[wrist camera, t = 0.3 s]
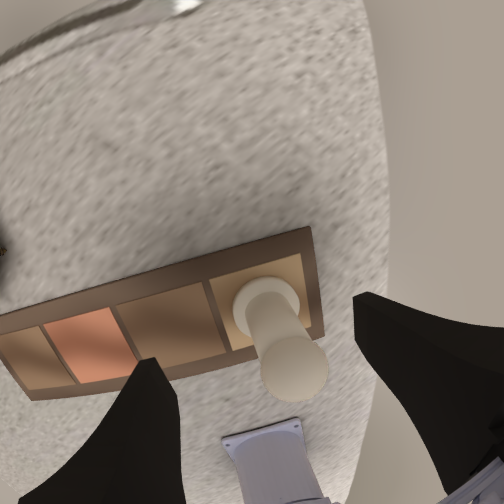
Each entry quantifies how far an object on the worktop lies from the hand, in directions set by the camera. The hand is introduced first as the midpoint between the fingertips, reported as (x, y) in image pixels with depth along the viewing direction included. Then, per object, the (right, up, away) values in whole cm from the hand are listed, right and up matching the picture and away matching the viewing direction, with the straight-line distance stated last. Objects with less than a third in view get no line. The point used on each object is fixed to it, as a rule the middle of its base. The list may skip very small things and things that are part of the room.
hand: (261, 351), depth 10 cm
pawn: (+1, 0, +10) cm, 10 cm away
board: (-9, -3, +10) cm, 13 cm away
